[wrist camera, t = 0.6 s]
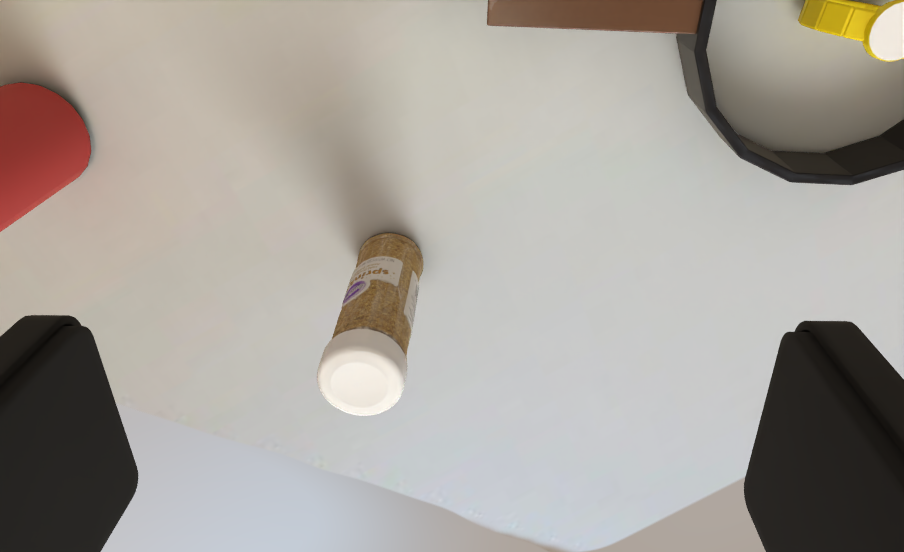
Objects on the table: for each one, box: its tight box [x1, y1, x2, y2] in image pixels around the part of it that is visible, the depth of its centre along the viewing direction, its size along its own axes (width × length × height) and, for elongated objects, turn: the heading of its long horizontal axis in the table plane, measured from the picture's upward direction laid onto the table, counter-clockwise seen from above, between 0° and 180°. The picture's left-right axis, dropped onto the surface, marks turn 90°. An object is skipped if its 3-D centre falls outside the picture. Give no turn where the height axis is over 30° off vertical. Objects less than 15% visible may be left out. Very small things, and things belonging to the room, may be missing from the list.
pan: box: [487, 0, 904, 185], centre depth 36 cm, size 28×17×4 cm, turn 88°
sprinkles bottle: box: [317, 233, 423, 416], centre depth 40 cm, size 5×5×13 cm
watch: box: [798, 0, 904, 61], centre depth 35 cm, size 6×3×6 cm, turn 82°
